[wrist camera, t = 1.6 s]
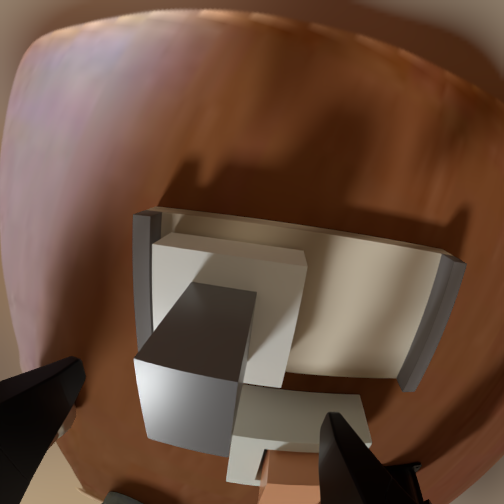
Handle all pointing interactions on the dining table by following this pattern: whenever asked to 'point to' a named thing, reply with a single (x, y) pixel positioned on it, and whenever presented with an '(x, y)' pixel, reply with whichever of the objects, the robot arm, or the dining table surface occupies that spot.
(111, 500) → the grey green cup
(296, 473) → the button
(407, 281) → the rail board
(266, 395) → the button housing
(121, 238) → the dining table surface
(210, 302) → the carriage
